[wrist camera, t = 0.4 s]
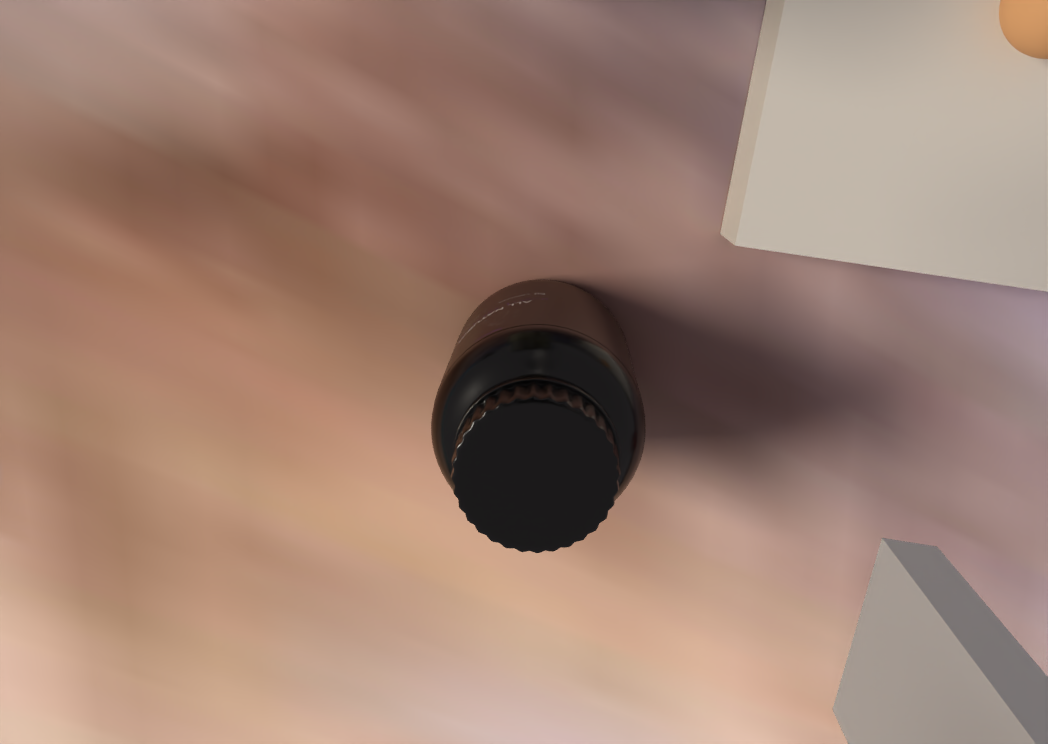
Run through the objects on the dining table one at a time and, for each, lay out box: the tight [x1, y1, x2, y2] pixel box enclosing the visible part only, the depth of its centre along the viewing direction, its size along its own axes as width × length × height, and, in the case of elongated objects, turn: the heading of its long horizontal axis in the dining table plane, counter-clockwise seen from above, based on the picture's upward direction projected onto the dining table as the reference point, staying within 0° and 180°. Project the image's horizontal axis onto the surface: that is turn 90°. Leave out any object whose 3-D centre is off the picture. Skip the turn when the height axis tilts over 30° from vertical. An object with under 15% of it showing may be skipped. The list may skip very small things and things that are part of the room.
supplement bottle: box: [431, 280, 645, 553], centre depth 33 cm, size 7×7×12 cm
